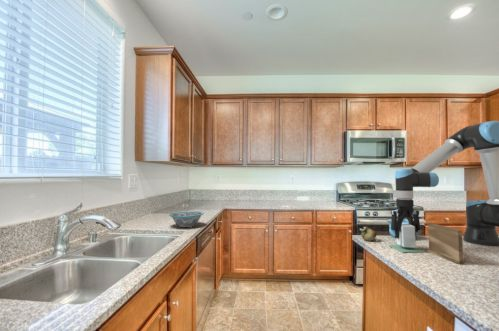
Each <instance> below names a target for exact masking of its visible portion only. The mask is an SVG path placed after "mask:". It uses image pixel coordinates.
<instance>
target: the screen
mask: <svg viewBox="0 0 499 331" xmlns="http://www.w3.org/2000/svg"><path fill="white" fill-rule="evenodd" d="M427 226H428V227H427V229H428V249H427V250H426V252H427V253H429V254H432V255H435V256H436V257H439V258H442V259H444V258H445V260H447V261H448V262H451V263H454V264H457V265H459V264H460V265H466V264H467V262H466V261H465V260H464V248H463V246H464V245H463V244H464V243H463V242H464V240H463V230H461V229H457V228H453V227H449V226H446V225H441V224H436V223H433V222H428V223H427Z"/></svg>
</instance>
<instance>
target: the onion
mask: <svg viewBox="0 0 499 331" xmlns="http://www.w3.org/2000/svg"><path fill="white" fill-rule="evenodd" d="M359 231H360V232H361V238H362V239H363V240H364V241H366V242H371V241H375V239H376V238H377V232H376V231H375V230H374V229H371V228H369V227H368V226H363V228H359Z"/></svg>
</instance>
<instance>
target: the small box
mask: <svg viewBox="0 0 499 331" xmlns="http://www.w3.org/2000/svg"><path fill="white" fill-rule="evenodd" d="M400 232H401V238H402V245H401V246H403V247H412V248H417V246H416V245H417V244H416V239H415V226H413V225H410V224H408V223H402V225H401V229H400Z"/></svg>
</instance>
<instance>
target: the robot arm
mask: <svg viewBox="0 0 499 331" xmlns="http://www.w3.org/2000/svg"><path fill="white" fill-rule="evenodd" d="M470 148H474V152H476V153H477V154H479V158H480V164H481V167H482V171H483V176H484V180H485V184H486V190H487V194H488V197H489V198H488V199H487V200H485V199H482V200H467V201H466V203H465V214H466V215H465V216H466V228H465V231H464V234H462V241H465V242H468V243H471V244H475V245H481V246H491V247H492V246H493V247H496V246H497V247H498V246H499V234H498V231H497V228H499V120H491V121H485V122H480V123H477V124H473V125H468V126H465V127H463V128H461V129H460V130H459V129H458V131H456V132H455V133H454V134H452V135H450V136H449V137H448V138H447V139H446V140H444V143H443V144H442V145H441V146H439V147H438V148H436V149H435V150H434V151H432V152H431V153H430V154H429V155H427V156H426V157H424V158H423V159H422V160H421V161H419V162H417V164H415V165H414V166H412V167H410V168H397V169H395V173H394V174H395V175H394V179H395V198H396V199H395V205H396V209H395V210H390V213H391V218H390V219H391V230H394V231H395V237H394V238H396V245H402V238H401V232H400V229H401V225H402V222H403V219H406V220H407V221H408V222H409V224H410V225H413V226H415V238H416V237H418V235H417V236H416V232H417V233H418V232H419V231H421V223H420V222H421V221H420V211H419V210H417V209H416V210H415V208H414V204H415V203H414V188H434V187H437V186H438V185H439V182H440V178H439V176H438V174H437V173H436V172H432V171H434V170H435V169H436V168H438V167H439V166H441V165H442V164H443V163H444V162H446V161H447V160H449V159H450V158H452V157H453V156H454V155H455V154H460V153H462V152H463V151H465V150H466V149H470ZM416 239H417V238H416Z"/></svg>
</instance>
